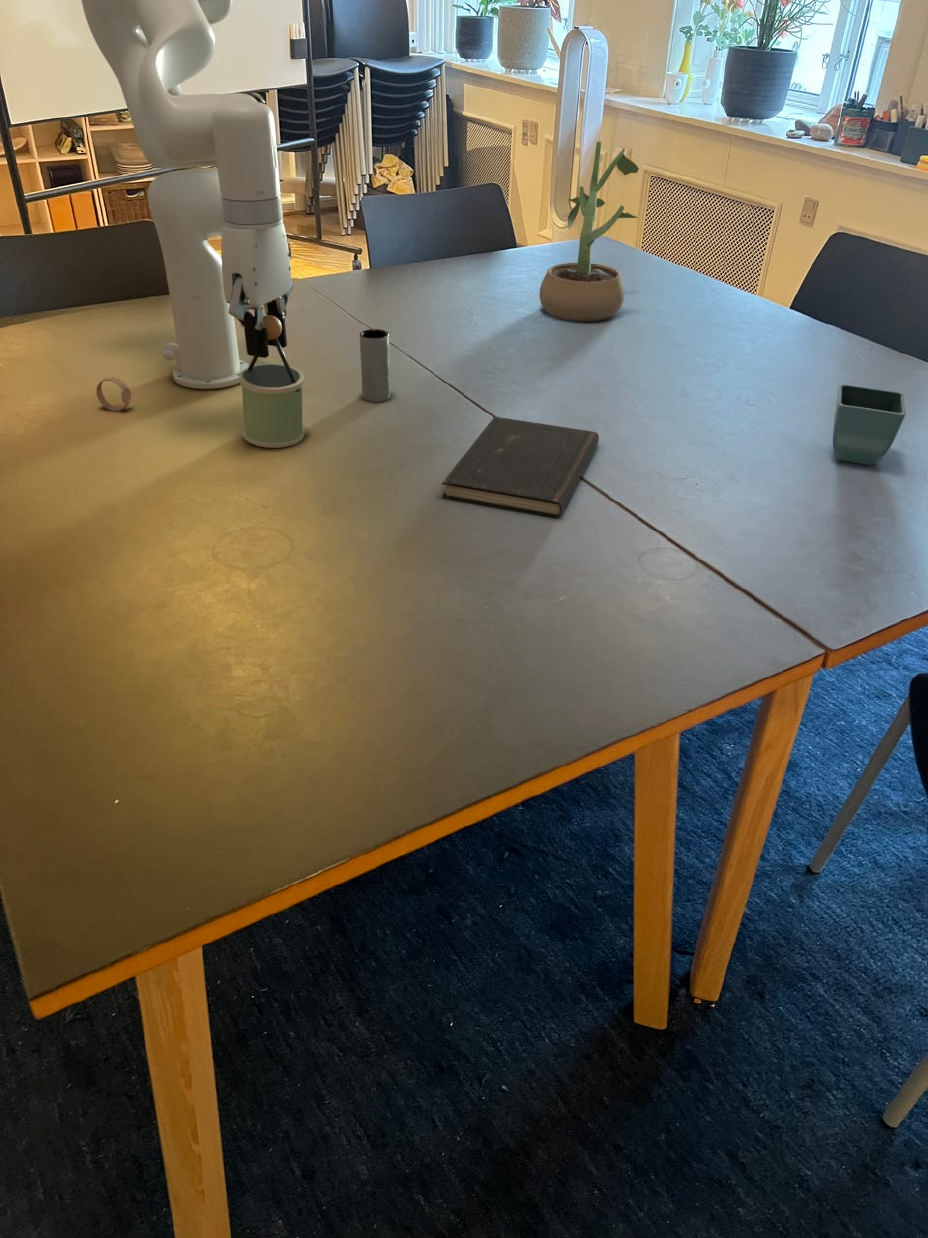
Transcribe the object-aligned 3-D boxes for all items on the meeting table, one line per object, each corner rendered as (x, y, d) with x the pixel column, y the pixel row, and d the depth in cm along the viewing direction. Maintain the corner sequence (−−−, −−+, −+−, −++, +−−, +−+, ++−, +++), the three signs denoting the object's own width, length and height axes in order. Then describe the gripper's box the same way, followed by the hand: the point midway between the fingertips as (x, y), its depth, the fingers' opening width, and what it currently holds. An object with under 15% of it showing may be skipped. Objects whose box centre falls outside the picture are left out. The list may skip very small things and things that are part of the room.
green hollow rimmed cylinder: (283, 453, 135) (230, 437, 138) (315, 430, 142) (264, 415, 144) (280, 332, 125) (222, 318, 127) (315, 313, 131) (259, 300, 134)
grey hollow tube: (386, 403, 151) (384, 339, 145) (359, 400, 151) (355, 336, 146) (393, 392, 154) (392, 330, 148) (367, 390, 155) (364, 327, 149)
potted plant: (623, 328, 183) (642, 157, 166) (531, 319, 187) (541, 151, 169) (633, 295, 201) (652, 138, 184) (549, 288, 205) (560, 133, 187)
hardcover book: (442, 497, 125) (442, 482, 124) (493, 430, 143) (494, 416, 141) (560, 518, 121) (561, 502, 120) (598, 446, 139) (599, 432, 137)
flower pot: (886, 449, 140) (904, 391, 135) (888, 474, 133) (906, 414, 128) (824, 440, 142) (839, 382, 137) (822, 464, 135) (838, 404, 130)
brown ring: (126, 413, 146) (119, 382, 143) (97, 411, 146) (90, 379, 143) (134, 407, 148) (128, 376, 145) (106, 404, 148) (99, 373, 146)
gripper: (263, 196, 129) (277, 329, 140) (188, 220, 117) (209, 365, 127) (311, 201, 127) (321, 337, 137) (240, 227, 114) (256, 374, 125)
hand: (267, 349), depth 132 cm, fingers open, 3 cm apart
